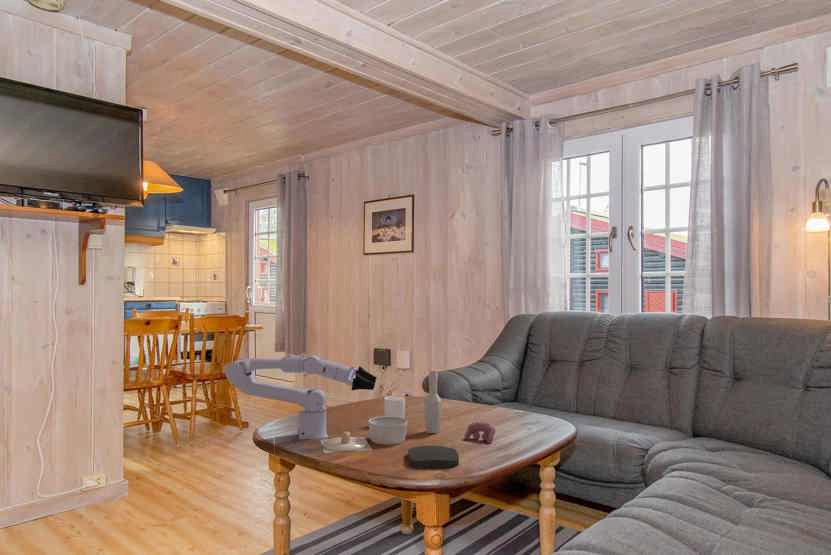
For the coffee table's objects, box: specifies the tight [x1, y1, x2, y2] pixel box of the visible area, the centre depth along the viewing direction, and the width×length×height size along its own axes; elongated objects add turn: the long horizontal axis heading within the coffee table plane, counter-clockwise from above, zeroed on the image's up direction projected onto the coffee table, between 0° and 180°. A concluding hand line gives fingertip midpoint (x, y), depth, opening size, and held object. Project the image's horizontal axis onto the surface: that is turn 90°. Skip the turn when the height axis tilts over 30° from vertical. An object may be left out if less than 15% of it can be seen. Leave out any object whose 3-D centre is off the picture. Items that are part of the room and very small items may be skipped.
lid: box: [324, 431, 368, 452], centre depth 182 cm, size 14×14×4 cm
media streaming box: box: [407, 445, 460, 469], centre depth 169 cm, size 15×15×3 cm
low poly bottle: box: [423, 369, 443, 434], centre depth 201 cm, size 6×6×22 cm
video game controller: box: [464, 421, 496, 444], centre depth 192 cm, size 10×5×7 cm, turn 59°
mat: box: [319, 436, 373, 454], centre depth 183 cm, size 15×15×1 cm
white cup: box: [383, 395, 406, 418], centre depth 211 cm, size 8×8×10 cm
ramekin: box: [367, 415, 409, 446], centre depth 189 cm, size 13×13×7 cm
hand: (375, 383), depth 194 cm, fingers open, 7 cm apart
